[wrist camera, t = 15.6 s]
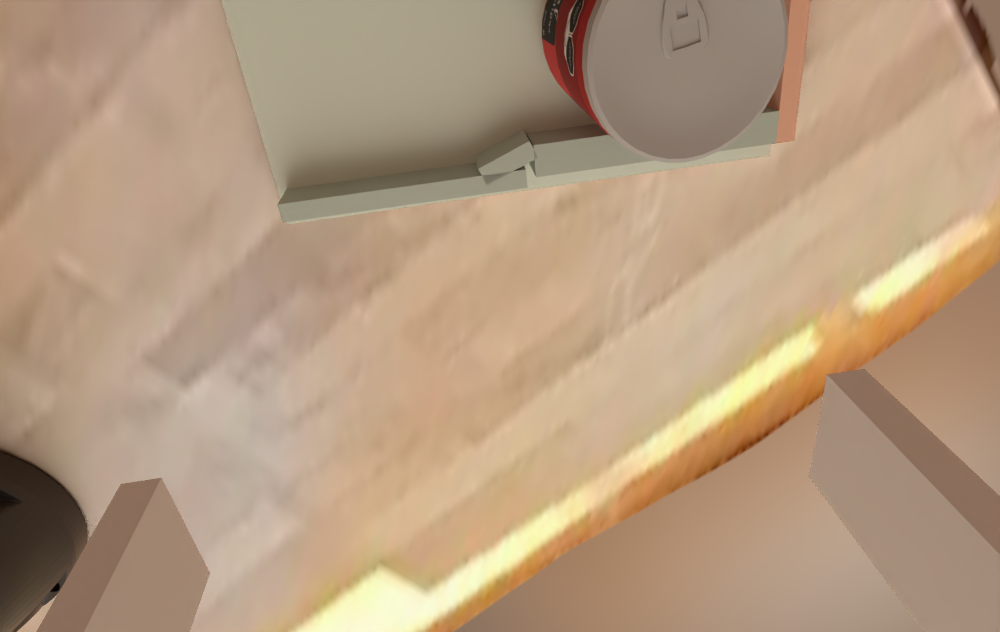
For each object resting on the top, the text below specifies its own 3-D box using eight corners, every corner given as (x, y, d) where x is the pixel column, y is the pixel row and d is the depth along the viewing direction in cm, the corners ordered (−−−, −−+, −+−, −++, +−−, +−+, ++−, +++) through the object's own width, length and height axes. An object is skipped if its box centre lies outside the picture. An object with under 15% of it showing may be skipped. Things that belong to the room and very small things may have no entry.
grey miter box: (291, 216, 37) (278, 241, 34) (195, -112, 29) (167, -120, 26) (760, 150, 38) (790, 168, 35) (791, -186, 30) (834, -202, 27)
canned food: (643, -98, 30) (744, -123, 21) (709, 53, 34) (820, 91, 24) (508, 0, 32) (544, 20, 22) (585, 135, 35) (644, 201, 26)
